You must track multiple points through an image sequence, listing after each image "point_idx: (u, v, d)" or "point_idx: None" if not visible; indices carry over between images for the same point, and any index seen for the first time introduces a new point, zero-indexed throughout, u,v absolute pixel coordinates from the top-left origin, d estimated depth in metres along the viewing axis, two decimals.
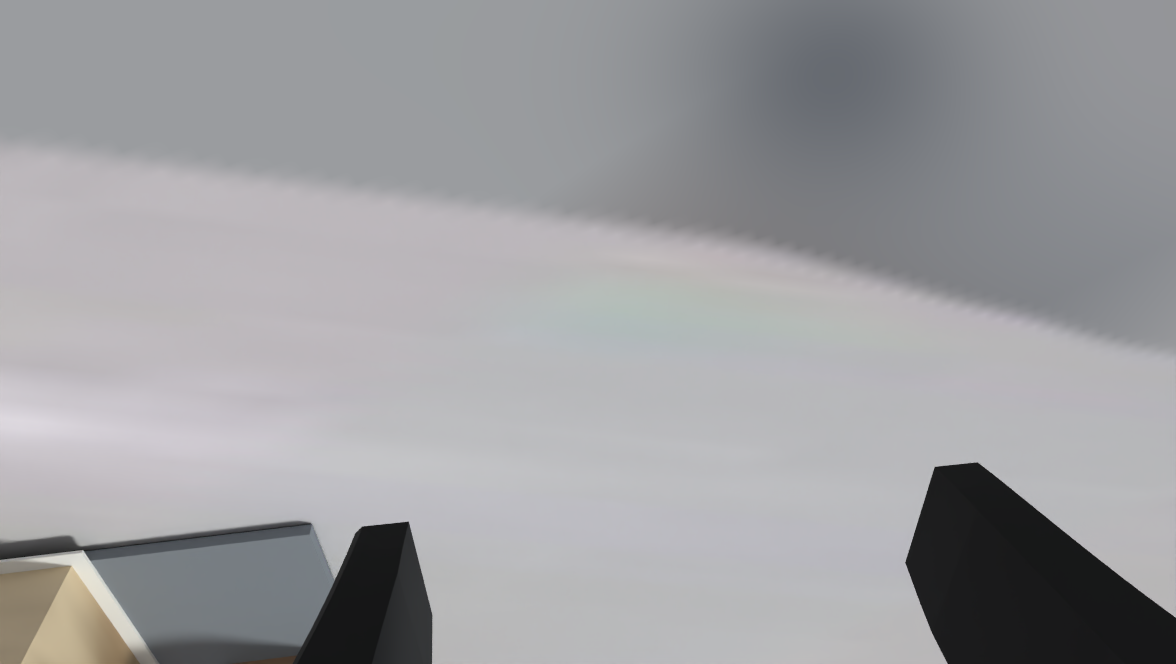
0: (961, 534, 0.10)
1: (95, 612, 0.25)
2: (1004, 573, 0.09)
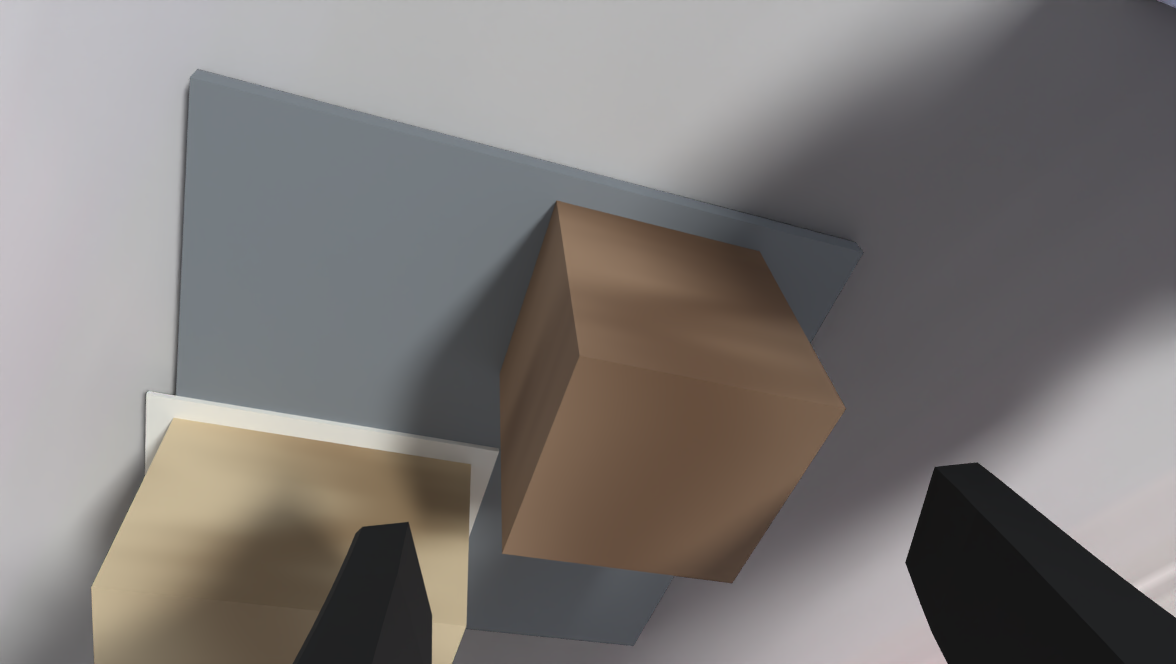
0: (961, 534, 0.10)
1: (272, 443, 0.16)
2: (1004, 573, 0.09)
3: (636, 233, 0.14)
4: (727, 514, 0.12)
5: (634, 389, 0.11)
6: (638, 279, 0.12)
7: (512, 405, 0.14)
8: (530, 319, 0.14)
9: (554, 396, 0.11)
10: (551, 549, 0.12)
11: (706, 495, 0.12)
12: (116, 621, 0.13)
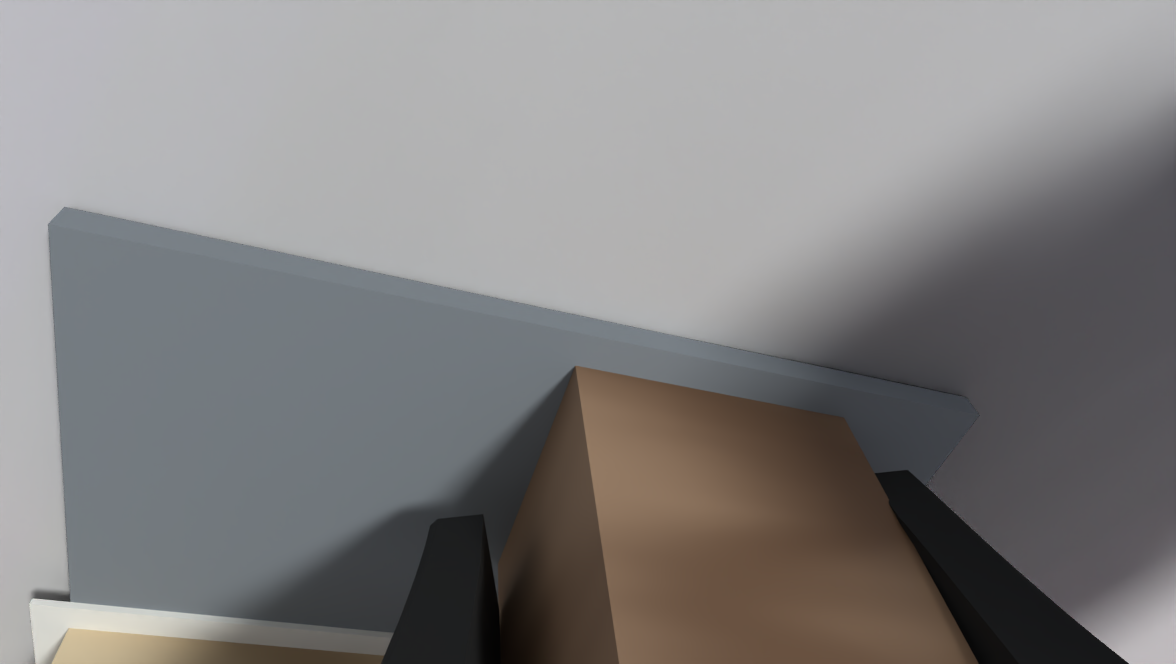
0: None
1: (201, 655, 0.12)
2: None
3: (684, 412, 0.10)
4: None
5: None
6: (696, 504, 0.09)
7: (515, 644, 0.10)
8: (540, 526, 0.10)
9: None
10: None
11: None
12: None
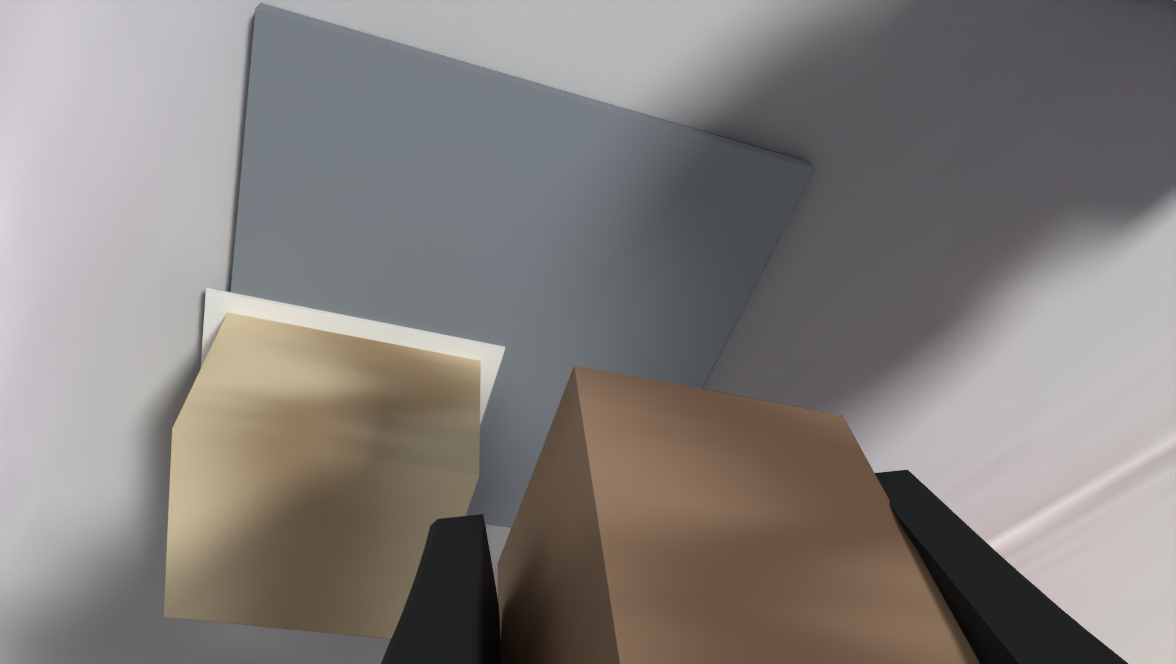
0: None
1: (311, 335, 0.19)
2: None
3: (683, 410, 0.10)
4: None
5: None
6: (695, 502, 0.09)
7: (516, 643, 0.10)
8: (539, 526, 0.10)
9: None
10: None
11: None
12: (190, 463, 0.16)
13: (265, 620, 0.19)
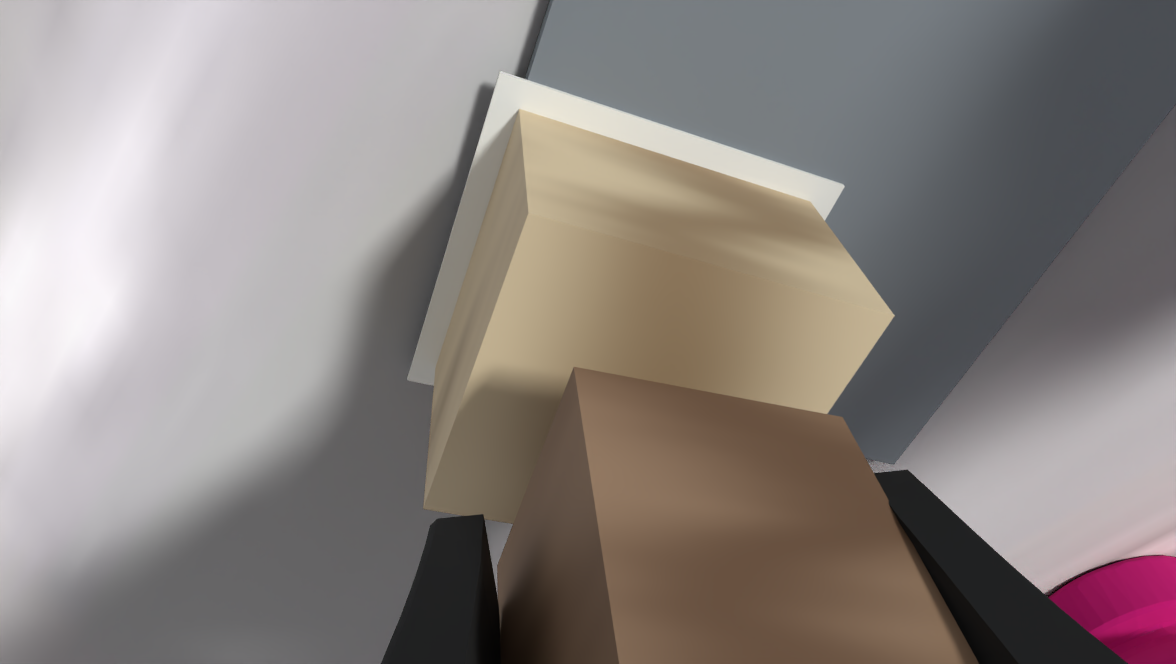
0: None
1: (622, 147, 0.14)
2: None
3: (682, 412, 0.10)
4: None
5: None
6: (695, 505, 0.09)
7: (515, 645, 0.10)
8: (539, 527, 0.10)
9: None
10: None
11: None
12: (533, 271, 0.11)
13: None
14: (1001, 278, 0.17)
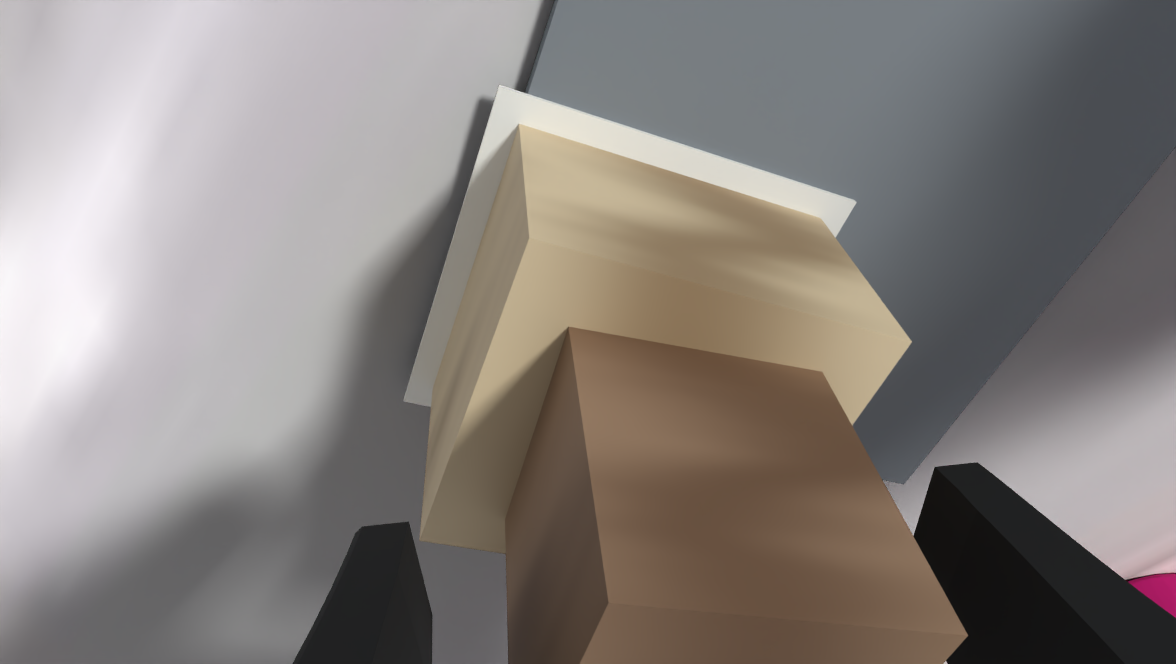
0: (961, 534, 0.10)
1: (626, 163, 0.14)
2: (1004, 573, 0.09)
3: (670, 366, 0.11)
4: None
5: (684, 633, 0.08)
6: (678, 445, 0.10)
7: (520, 584, 0.11)
8: (540, 475, 0.11)
9: (574, 632, 0.08)
10: None
11: None
12: (534, 298, 0.11)
13: None
14: (1016, 295, 0.17)
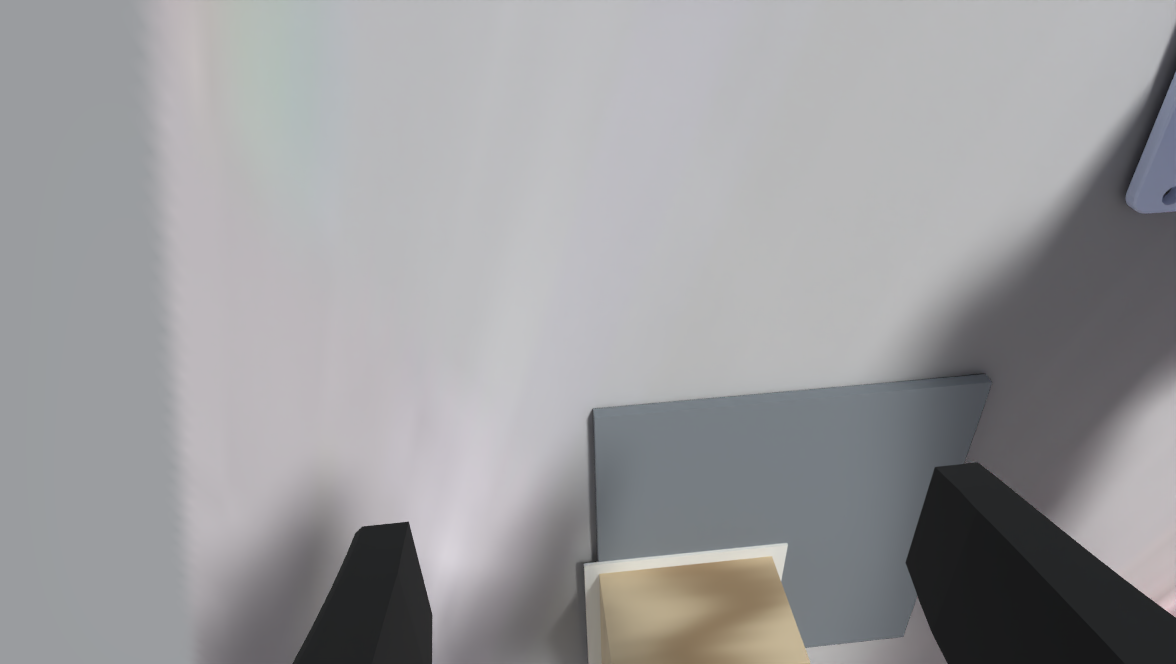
0: (961, 534, 0.10)
1: (656, 574, 0.27)
2: (1004, 573, 0.09)
3: None
4: None
5: None
6: None
7: None
8: None
9: None
10: None
11: None
12: None
13: None
14: None
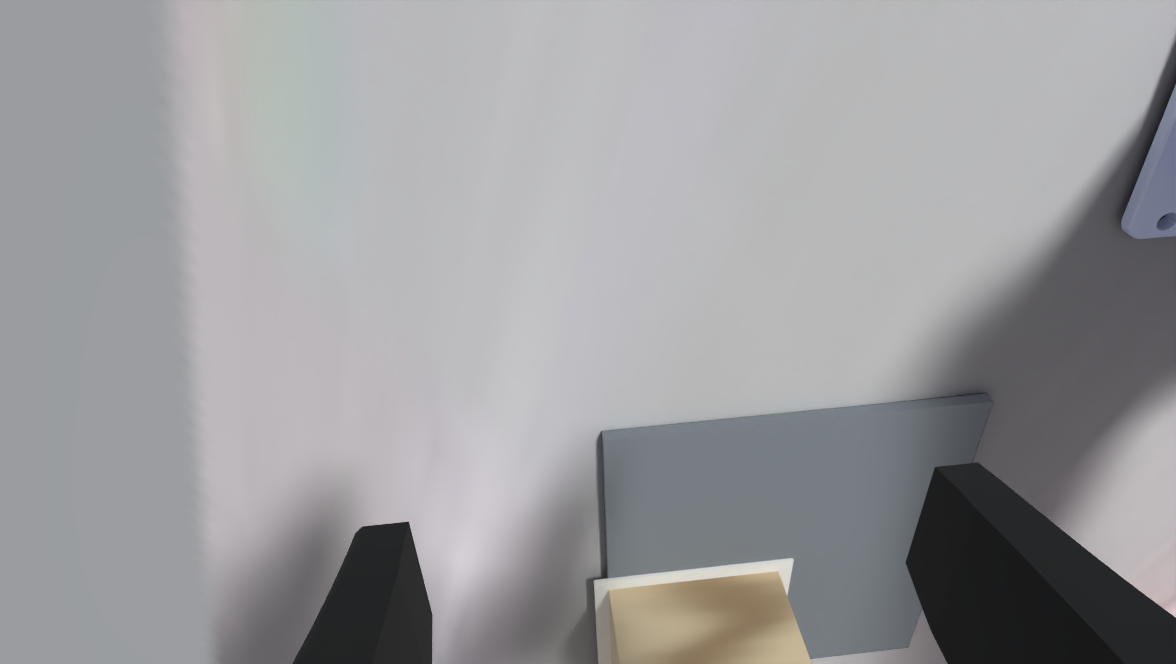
0: (961, 534, 0.10)
1: (665, 590, 0.27)
2: (1004, 573, 0.09)
3: None
4: None
5: None
6: None
7: None
8: None
9: None
10: None
11: None
12: None
13: None
14: None
